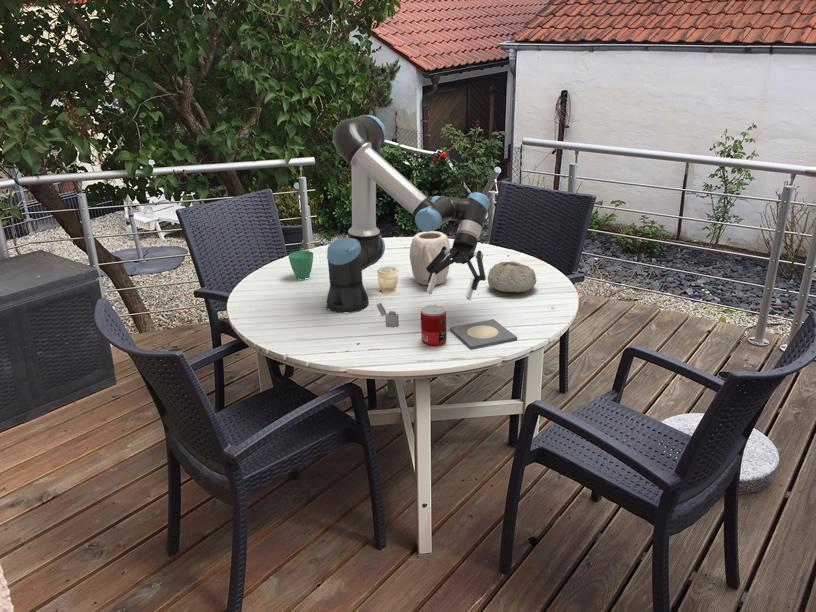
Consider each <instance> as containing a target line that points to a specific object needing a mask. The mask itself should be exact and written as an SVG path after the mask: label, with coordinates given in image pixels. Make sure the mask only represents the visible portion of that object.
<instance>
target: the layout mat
mask: <svg viewBox="0 0 816 612" xmlns="http://www.w3.org/2000/svg"><path fill="white" fill-rule="evenodd" d="M449 332H451V333H452V334H453V335H454V336H455V337H456V338H457V339H458V340H460V341H461V342H462V344H464V345H465V346H466V347H468V348H469V350H474V349H475V348H476V349H480V348H485V347H490V346H494V344H495V345H499V343H500V344H504V342H505V343H511V342H513V341H514V342H515V341H517V340H518V337H517V336H516V335H515V334H514V333H512V332H511V331H510V330H509V329H507V328H506V327H505V326H504V325H502V324H501V323H499V322H498V321H497V320H495V319H494V318H492V319H486V320H481V321H476V322H471V323H465V324H461V325H456V326H450V327H449ZM489 345H490V346H489ZM484 346H485V347H484ZM479 347H480V348H479Z"/></svg>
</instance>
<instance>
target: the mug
mask: <svg viewBox="0 0 816 612" xmlns="http://www.w3.org/2000/svg"><path fill="white" fill-rule="evenodd" d="M288 260H289V263H290V266H291V270H292V271H293V274H294V275H295V277H296V279H297V278H299V279H305V278H309V279H310V275H311V272H312V269H313V268H312V267H313V262H314V253H313V252H312V251H310V250H309V249H307V248H306V249H303V250H298V251H293V252H290V253H289V254H288Z"/></svg>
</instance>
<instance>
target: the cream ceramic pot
mask: <svg viewBox="0 0 816 612" xmlns="http://www.w3.org/2000/svg"><path fill="white" fill-rule="evenodd" d="M444 246H445V247H446V248H448V249H451V248H452V247H451V245H450V241H449V237H448V235H446V233H443V232H441V231H435V230H433V231H430V232H424V231H421V232H417V233H416V234H415V235H413V237H412V240H411V243H410V249H409V259H410V266H411V273H412V274H413V278H414V280H415V283H418V284H420V285H423V286H428V285H429V282H428V278H429V275H430V273H429V272H428V271H427V270H426V267H427V266H428V265H429V264H430V263H431V262H432V261H433V260H434V259H435V257H436V256H437V255H438V254H439V253H440V252H441V250H442V247H444ZM449 255H450V253H449V254H448V255H446V257H445V258H444V259H443V260H445V259H446V258H447V256H449ZM443 260H442V261H443ZM442 261H441V262H442ZM450 265H451V264H450ZM450 265H449V266H447V267H446V268H445V269H443V270H442V271H441V272H439V273H438V274H437V276H438V277H437V280H436V283H435V286H437V285H440V284H444V283H446V281H447V278H448V274H449V270H450Z"/></svg>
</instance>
